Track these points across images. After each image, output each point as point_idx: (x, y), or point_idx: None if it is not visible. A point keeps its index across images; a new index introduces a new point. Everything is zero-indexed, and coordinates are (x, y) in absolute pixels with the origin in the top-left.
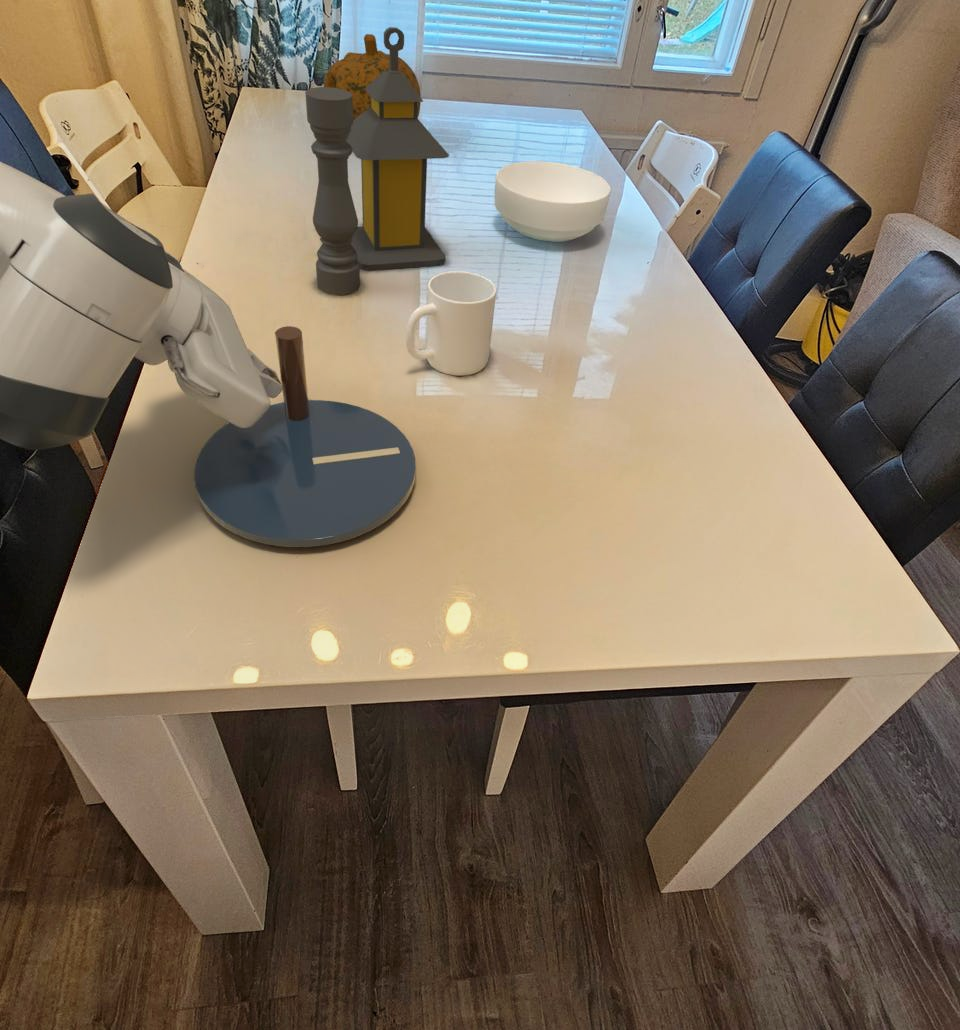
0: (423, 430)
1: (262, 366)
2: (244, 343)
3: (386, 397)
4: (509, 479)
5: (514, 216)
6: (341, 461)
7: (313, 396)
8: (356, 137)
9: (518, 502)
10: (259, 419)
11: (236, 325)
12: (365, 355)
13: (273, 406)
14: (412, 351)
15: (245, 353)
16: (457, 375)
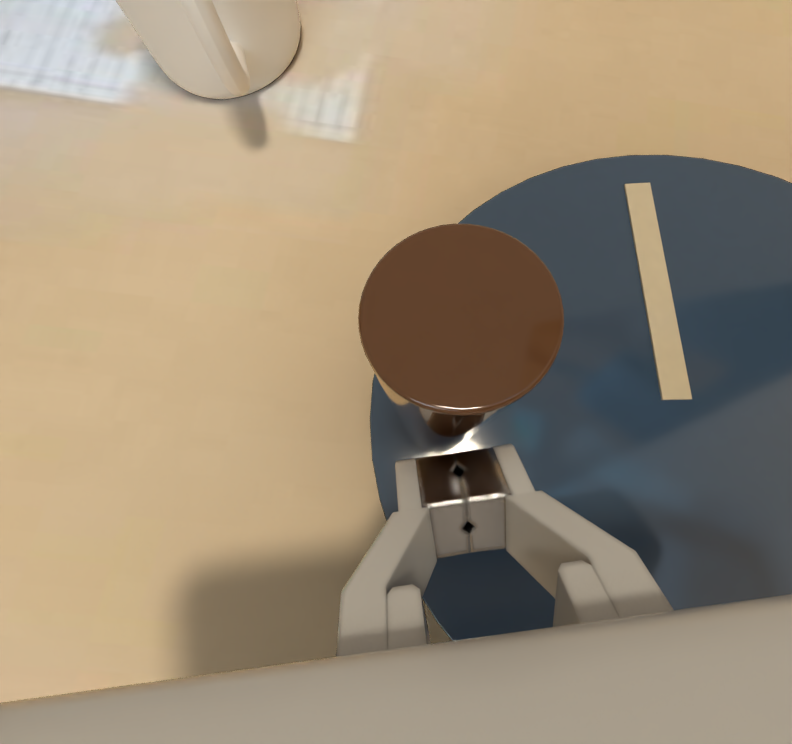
0: (489, 147)
1: (425, 523)
2: (424, 667)
3: (345, 204)
4: (677, 24)
5: None
6: (675, 325)
7: (303, 372)
8: None
9: (752, 22)
10: None
11: (152, 712)
12: (155, 226)
13: (388, 486)
14: (243, 74)
15: (674, 699)
16: (295, 52)
